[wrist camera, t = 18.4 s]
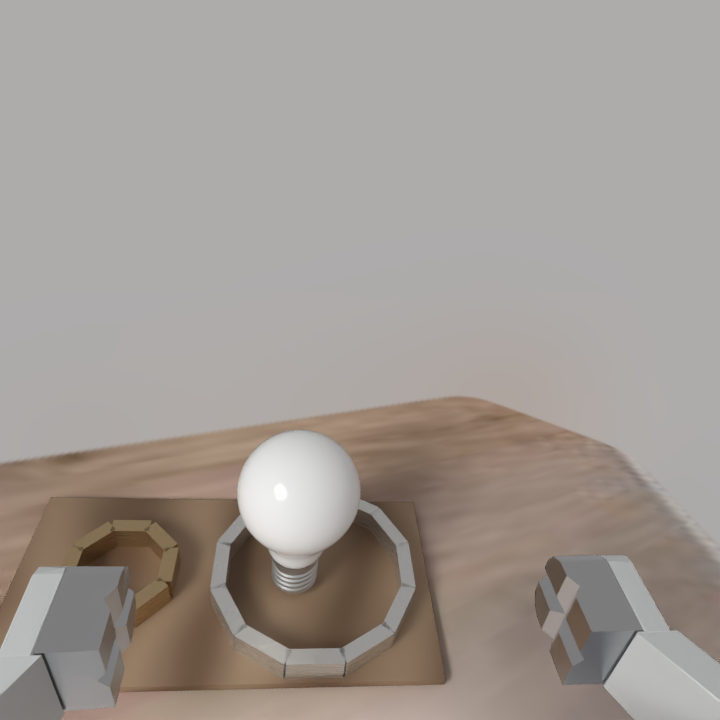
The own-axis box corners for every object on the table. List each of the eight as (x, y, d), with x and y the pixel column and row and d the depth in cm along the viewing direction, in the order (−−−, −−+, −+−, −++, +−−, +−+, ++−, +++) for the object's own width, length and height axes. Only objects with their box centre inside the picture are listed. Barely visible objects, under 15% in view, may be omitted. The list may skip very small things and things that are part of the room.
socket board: (-36, 695, 28) (-48, 675, 27) (52, 502, 38) (45, 481, 37) (444, 684, 31) (451, 665, 30) (412, 507, 41) (416, 487, 40)
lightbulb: (290, 519, 38) (297, 389, 32) (367, 575, 35) (391, 444, 29) (216, 585, 34) (207, 449, 28) (298, 654, 31) (308, 521, 25)
